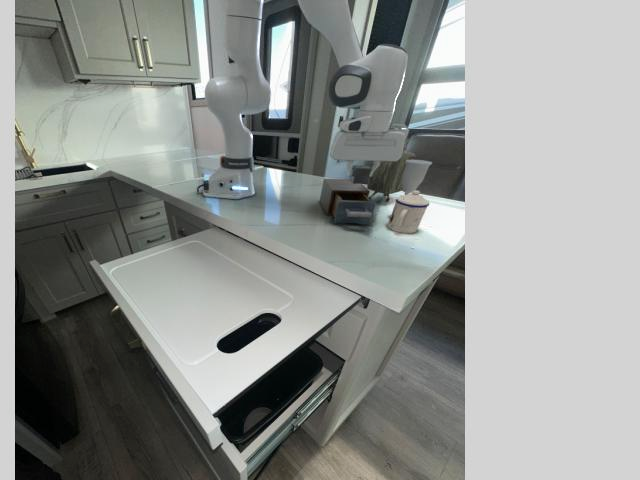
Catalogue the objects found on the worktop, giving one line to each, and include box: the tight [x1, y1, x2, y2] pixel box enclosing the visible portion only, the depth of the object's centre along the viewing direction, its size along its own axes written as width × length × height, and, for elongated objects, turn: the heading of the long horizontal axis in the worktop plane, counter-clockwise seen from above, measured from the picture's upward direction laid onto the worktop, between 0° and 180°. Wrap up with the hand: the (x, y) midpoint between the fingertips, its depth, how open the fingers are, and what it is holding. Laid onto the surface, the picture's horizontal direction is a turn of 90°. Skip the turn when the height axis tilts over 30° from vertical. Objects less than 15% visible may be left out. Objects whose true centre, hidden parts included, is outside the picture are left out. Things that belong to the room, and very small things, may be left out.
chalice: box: [389, 159, 433, 218], centre depth 88 cm, size 7×7×18 cm
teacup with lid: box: [387, 189, 430, 234], centre depth 82 cm, size 12×9×12 cm
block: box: [348, 164, 372, 185], centre depth 83 cm, size 4×4×4 cm
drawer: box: [330, 193, 377, 224], centre depth 89 cm, size 19×11×7 cm, turn 176°
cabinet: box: [319, 178, 371, 216], centre depth 99 cm, size 16×13×9 cm
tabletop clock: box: [366, 129, 418, 203], centre depth 101 cm, size 14×9×25 cm, turn 122°
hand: (359, 176), depth 83 cm, fingers closed on block, 4 cm apart
